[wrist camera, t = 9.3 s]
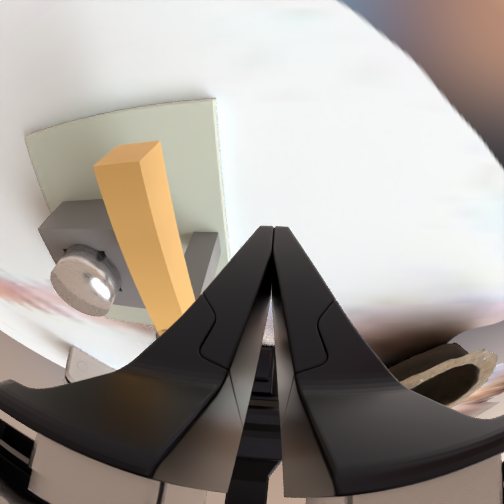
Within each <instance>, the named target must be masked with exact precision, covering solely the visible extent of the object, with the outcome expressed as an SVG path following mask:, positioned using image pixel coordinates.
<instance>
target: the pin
mask: <svg viewBox="0 0 504 504" xmlns="http://www.w3.org/2000/svg"><path fill="white" fill-rule="evenodd" d="M50 277H51V282H52V285H53V287H54V289H55V290H56V292H57V293H58V294H59V296H60V297H61V298H62V299H63V300H64V301H65V302H66V303H68V304H69V305H70V306H72V307H73V308H75V309H76V310H78V311H80V312H82V313H85V314H88V315H91V316H104V315H106V314H107V313H108V312H109V310H110V308H111V306H112V303H113V301H114V299H115V297H116V295H117V293H118V291H119V289H120V287H121V283H122V281H121V276H120V273H119V271H118V269H117V268H116V266H115V265H114V264H113V263H112V262H111V260H110V259H108V258H107V257H106V254H105V252H104V251H98V250H96V249H94V248H92V247H89V246H86V245H80V244H77V245H73V246H70V247H69V248H68V249H67V250H66V252H65V253H64V255H63V256H62V257H61V259H60V260H59V262H58V263H57V265H56V266H55V267H54V269H53V270H52V272H51V276H50Z"/></svg>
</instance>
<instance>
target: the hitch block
mask: <svg viewBox="0 0 504 504" xmlns="http://www.w3.org/2000/svg"><path fill="white" fill-rule="evenodd" d="M25 141H26V145H27V148H28V152H29V155H30V158H31V161H32V164H33V167H34V170H35V173H36V176H37V179H38V181H39V184H40V187H41V190H42V192H43V195H44V197H45V200H46V202H47V205H48V207H49V210H50V212H51V215H50V216H49V217H48V218H47V219H46V220H45V221H44V222H43V224H42V225H41V226H40V227H39V228H38V230H39V233H40V235H41V237H42V239H43V241H44V243H45V245H46V247H47V249H48V250H49V252H50V254H51V256H52V258H53V260H54V262H55V264H56V265H57V263H58V262H59V260H60V259H61V257H62V256H63V255H64V253H65V252H66V250H67V249H68V248H69V247H70V246H73V245H77V244H80V245H86V246H89V247H92V248H94V249H96V250H98V251H104V252H105V254H106V257H107V258H108V259H110V260H111V262H112V263H113V264H114V265H115V266H116V268H117V269H118V271H119V273H120V276H121V281H122V283H121V287H120V289H119V291H118V293H117V295H116V297H115V299H114V301H113V303H112V306H111V308H110V310H109V312H108V313H107V314H106V315H104V316H105V318H107V319H113V320H119V321H126V322H132V323H139V324H146V325H153V326H154V324H153V322H152V320H151V318H150V316H149V313H148V311H147V309H146V307H145V305H144V303H143V301H142V298H141V296H140V294H139V292H138V289H137V287H136V285H135V283H134V280H133V278H132V276H131V273H130V271H129V268H128V266H127V263H126V261H125V259H124V256H123V253H122V251H121V248H120V246H119V243H118V241H117V238H116V235H115V232H114V230H113V227H112V224H111V221H110V219H109V216H108V213H107V210H106V207H105V204H104V201H103V198H102V195H101V192H100V188H99V185H98V182H97V179H96V175H95V172H94V168H93V166H94V165H95V164H96V163H97V162H99V161H100V160H101V159H102V158H103V157H104V156H106V155H107V154H108V153H109V152H110V151H112V150H113V149H114V148H115V147H116V146H118V145H125V144H133V143H142V142H151V141H161V147H162V153H163V159H164V164H165V169H166V175H167V180H168V185H169V190H170V195H171V200H172V205H173V210H174V214H175V219H176V223H177V228H178V232H179V237H180V241H181V245H182V249H183V254H184V258H185V262H186V266H187V270H188V274H189V278H190V282H191V286H192V289H193V293H194V297H195V300H196V299H197V298H198V297H199V296H200V295H201V294H202V293H203V291H204V290H205V289H206V288H207V287H208V285H209V284H210V283H211V282H212V281H213V280H214V279H215V277H216V276H217V275H218V274H219V273H220V272H221V270H222V269H223V268H224V267H225V266H226V265H227V263H228V262H229V261H230V260H231V259H230V249H229V240H228V230H227V220H226V210H225V200H224V189H223V178H222V167H221V156H220V145H219V133H218V120H217V107H216V98H214V99H200V100H188V101H178V102H170V103H162V104H154V105H147V106H141V107H135V108H129V109H124V110H118V111H113V112H108V113H104V114H99V115H95V116H90V117H86V118H82V119H78V120H74V121H70V122H67V123H63V124H60V125H56V126H53V127H49V128H46V129H43V130H40V131H37V132H34V133H31V134H30V135H28V136H26V137H25Z"/></svg>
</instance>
